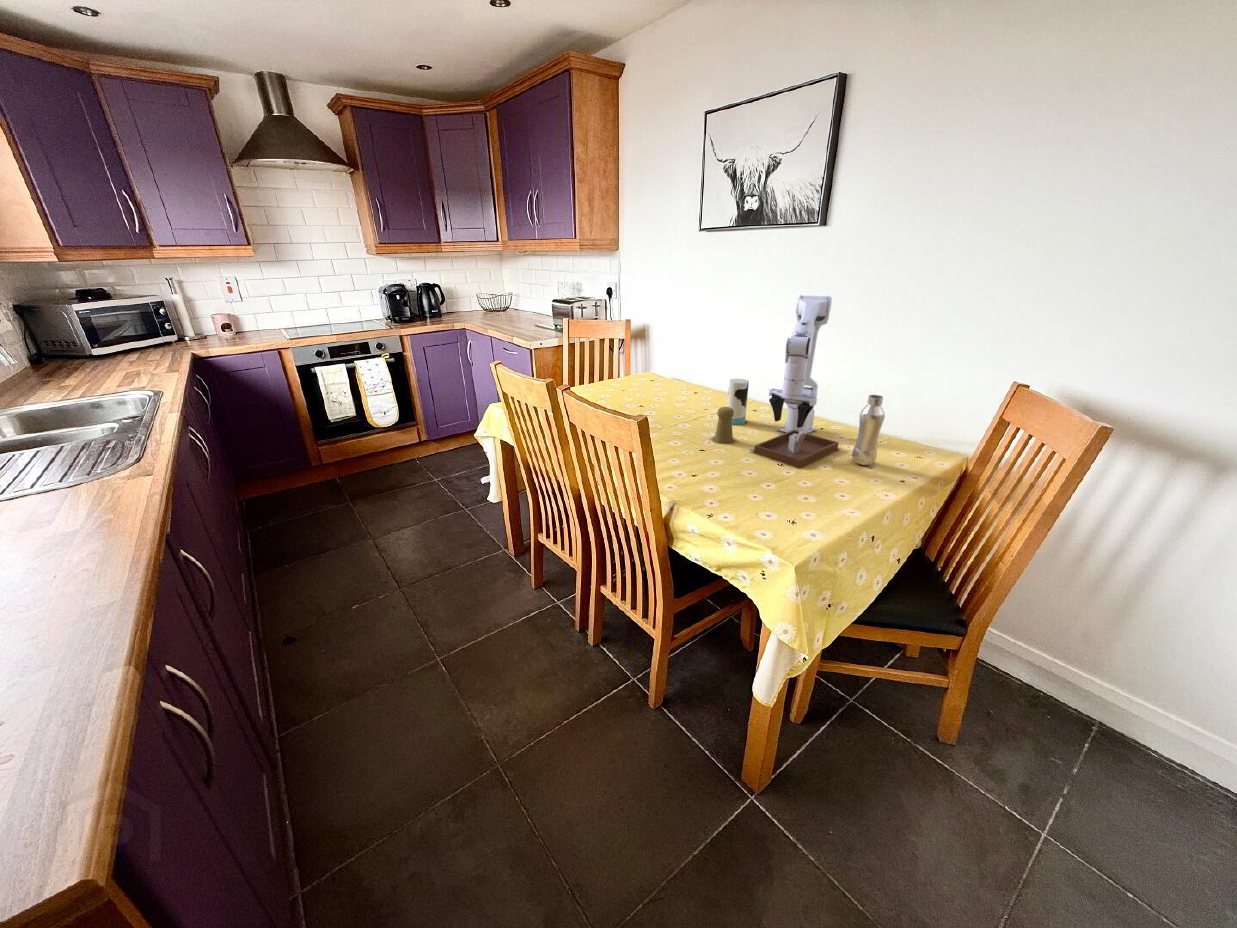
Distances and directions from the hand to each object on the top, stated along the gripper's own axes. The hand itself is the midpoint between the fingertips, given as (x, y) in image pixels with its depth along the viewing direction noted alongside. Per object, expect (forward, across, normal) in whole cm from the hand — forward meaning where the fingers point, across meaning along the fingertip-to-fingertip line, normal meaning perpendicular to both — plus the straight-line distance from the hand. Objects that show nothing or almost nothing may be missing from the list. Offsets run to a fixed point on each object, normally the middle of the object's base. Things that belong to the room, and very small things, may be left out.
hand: (788, 423), depth 149 cm
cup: (+10, -29, +13) cm, 33 cm away
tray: (+10, +1, +4) cm, 10 cm away
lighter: (+9, +2, +2) cm, 10 cm away
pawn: (+10, -20, -5) cm, 22 cm away
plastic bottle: (+10, +19, +10) cm, 24 cm away
